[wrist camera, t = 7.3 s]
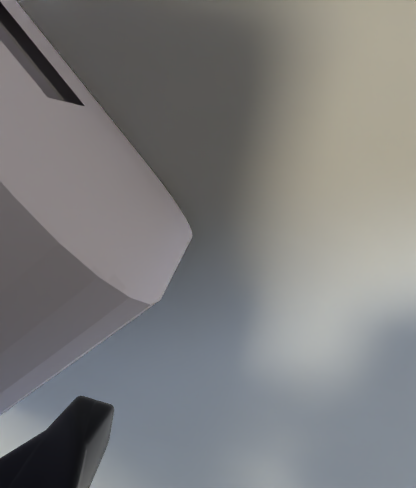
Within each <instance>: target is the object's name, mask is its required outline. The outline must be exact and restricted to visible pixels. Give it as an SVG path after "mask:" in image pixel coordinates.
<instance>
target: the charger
mask: <svg viewBox="0 0 416 488" xmlns="http://www.w3.org/2000/svg"><path fill="white" fill-rule="evenodd" d="M192 237H193V236H192V230H191V228H190V226H189V224H188V222H187V220H186V218H185V216H184V215H183V213H182V211H181V210H180V208H179V207H178V205H177V203H176V202H175V201H174V199H173V198H172V196H171V195H170V194H169V192H168V191H167V189H166V188H165V187H164V185H163V184H162V183H161V181H160V180H159V179H158V177H157V176H156V175H155V174H154V172H153V171H152V170H151V168H150V167H149V166H148V164H147V163H146V162H145V161H144V160H143V158H142V157H141V156H140V155H139V153H138V152H137V151H136V150H135V148H134V147H133V146H132V145H131V143H130V142H129V141H128V140H127V138H126V137H125V136H124V135H123V133H122V132H121V131H120V130H119V128H118V127H117V126H116V125H115V123H114V122H113V121H112V120H111V118H110V117H109V116H108V115H107V113H106V112H105V111H104V110H103V108H102V107H101V106H100V105H99V103H98V102H97V101H96V100H95V98H94V97H93V96H92V95H91V93H90V92H89V91H88V90H87V88H86V87H85V86H84V85H83V83H82V82H81V81H80V80H79V78H78V77H77V76H76V75H75V73H74V72H73V71H72V70H71V68H70V67H69V66H68V65H67V63H66V62H65V61H64V60H63V59H62V57H61V56H60V55H59V54H58V52H57V51H56V50H55V49H54V47H53V46H52V45H51V44H50V42H49V41H48V40H47V39H46V37H45V36H44V35H43V34H42V32H41V31H40V30H39V29H38V27H37V26H36V25H35V24H34V22H33V21H32V20H31V19H30V17H29V16H28V15H27V14H26V12H25V11H24V10H23V9H22V7H21V6H20V5H19V4H18V2H17V1H16V0H0V415H1V414H3V413H4V412H5V411H7V410H8V409H10V408H11V407H12V406H14V405H15V404H17V403H18V402H19V401H21V400H22V399H24V398H25V397H26V396H28V395H29V394H31V393H32V392H33V391H35V390H36V389H37V388H39V387H40V386H42V385H43V384H44V383H46V382H47V381H49V380H50V379H51V378H53V377H54V376H56V375H57V374H58V373H60V372H61V371H63V370H64V369H65V368H67V367H68V366H69V365H71V364H72V363H74V362H75V361H76V360H78V359H79V358H81V357H82V356H83V355H85V354H86V353H88V352H89V351H90V350H92V349H93V348H95V347H96V346H97V345H99V344H100V343H101V342H103V341H104V340H106V339H107V338H108V337H110V336H111V335H113V334H114V333H115V332H117V331H118V330H120V329H121V328H122V327H124V326H125V325H127V324H128V323H129V322H131V321H132V320H133V319H135V318H136V317H138V316H139V315H140V314H142V313H143V312H145V311H146V310H147V309H149V308H150V307H152V306H153V305H154V304H156V303H157V302H159V301H160V300H161V298H162V296H163V294H164V292H165V290H166V288H167V286H168V284H169V282H170V280H171V278H172V276H173V274H174V272H175V270H176V268H177V266H178V264H179V262H180V260H181V259H182V257H183V255H184V253H185V251H186V249H187V247H188V245H189V243H190V241H191V239H192Z"/></svg>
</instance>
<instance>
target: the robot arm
mask: <svg viewBox="0 0 416 488" xmlns="http://www.w3.org/2000/svg"><path fill="white" fill-rule="evenodd" d="M113 415H114V407H113V406H112V405H111V404H108V403H104V402H101V401H97V400H94V399H91V398H88V397H85V396H78V397H77V398H76V399H75V400H74V401H73V402H72V403H71V404H70V405H69V406H68V407H67V408H66V409H65V410H64V411H63V412H62V414H61V415H60V416H59V417H58V418H57V419H56V420H55V421H54V422H53V423H52V424H51V425H50V426H49V427H48V428H47V429H46V430H45V431H44V432H42V433H40V434H39V435H37V436H36V437H34V438H32V439H31V440H29V441H28V442H26V443H24V444H23V445H21V446H19V447H18V448H16V449H15V450H13V451H11V452H10V453H8V454H6V455H5V456H3V457H2V458H0V488H89V487H90V484H91V482H92V480H93V477H94V475H95V473H96V471H97V468H98V466H99V464H100V461H101V459H102V457H103V454H104V452H105V450H106V447H107V444H108V441H109V437H110V432H111V426H112V420H113Z"/></svg>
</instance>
